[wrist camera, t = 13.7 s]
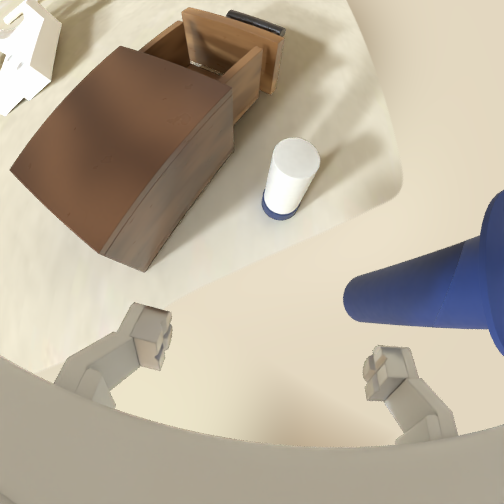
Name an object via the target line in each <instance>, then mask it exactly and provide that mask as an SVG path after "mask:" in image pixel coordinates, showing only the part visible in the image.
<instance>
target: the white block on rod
mask: <svg viewBox="0 0 504 504" xmlns="http://www.w3.org/2000/svg"><path fill="white" fill-rule="evenodd" d="M36 1H38V0H36ZM22 3H23V2H22ZM22 3H21V4H20V5H19V6H18V7H16V8H15V9H14V10H13V11H12V12H10V13H9V14H8V15H7V16H6V17H5V18H4V21H5V23H6V24H8V25H9V24H10V23H11V22H12V21H13V20H15V19H16V18H17V17H18V16H19V15H21V14H22V13H23V11H22V10H21V9H20V7H21V5H22Z"/></svg>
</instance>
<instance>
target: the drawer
mask: <svg viewBox="0 0 504 504" xmlns="http://www.w3.org/2000/svg"><path fill="white" fill-rule="evenodd" d="M181 13H182V19H183V22H182V21H177V22H175V23H174V24H172V25H171V26H170V27H168V28H167V29H165V30H164V31H163V32H161V33H160V34H159V35H158V36H156V37H155V38H154V39H152V40H151V41H150V42H149V43H147V44H146V45H145V46H144V47H142V48H141V49H140V50H139V52H143V53H146V54H149V55H152V56H155V57H158V58H161V59H163V60H166V61H169V62H172V63H175V64H177V65H180V66H183V67H185V68H188V69H190V70H193V71H195V72H198V73H200V74H203V75H205V76H208V77H210V78H212V79H215V80H217V81H219V82H222V83H224V84H226V85H228V86H231V87H232V95H233V126H234V124H235V123H236V122H237V121H238V120H239V119H240V118H241V116H242V115H243V114H244V113H245V112H246V111H247V110H248V109H249V108H250V106H251V105H252V104H253V103H254V102H255V101H256V100H257V99H258V97H259V90H261V91H263V92H265V93H267V94H269V95H271V94H272V93H273V92H274V91H275V90H276V86H277V80H278V74H279V68H280V62H281V56H282V50H283V44H284V37H283V36H284V34H285V31H286V29H285V28H283V27H281V26H278V25H276V24H273V23H270V22H268V21H265V20H262V19H259V18H256V17H253V16H250V15H247V14H244V13H241V12H237V11H234V10H230V11H229V12H228V13H227V15H226V17H224V16H221V15H217V14H214V13H210V12H206V11H202V10H198V9H194V8H190V7H188V8H187V9H185V10H184V11H182V12H181ZM190 60H191V61H194V62H196V63H199V64H202V65H204V66H207V67H209V68H212V69H214V70H217V71H219V72H221V73H224V75H222V76H220V75H217V74H215V73H213V72H210V71H208V70H205V69H203V68H200V67H198V66H195V65H193V64H190Z"/></svg>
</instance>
